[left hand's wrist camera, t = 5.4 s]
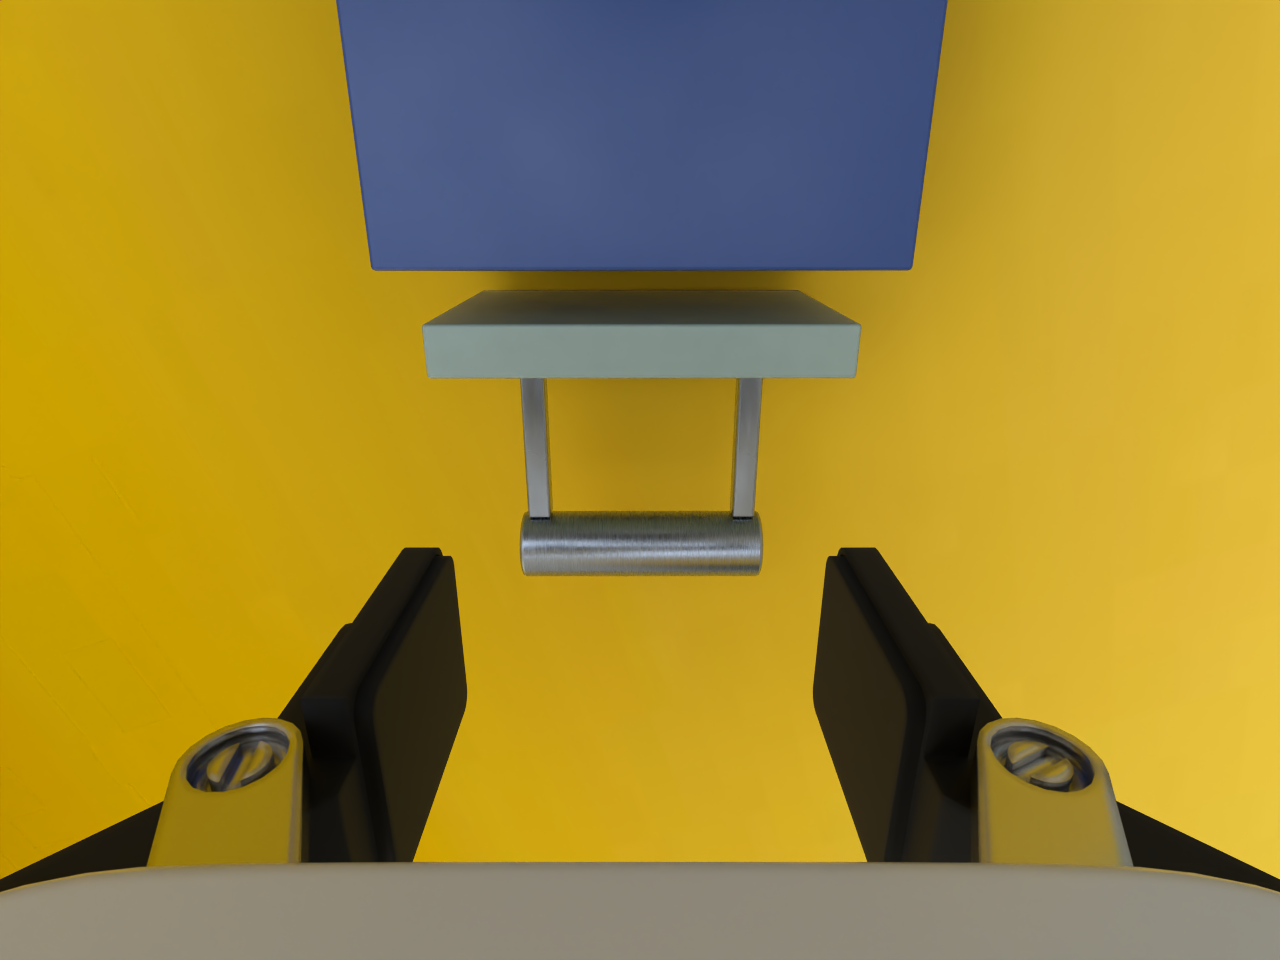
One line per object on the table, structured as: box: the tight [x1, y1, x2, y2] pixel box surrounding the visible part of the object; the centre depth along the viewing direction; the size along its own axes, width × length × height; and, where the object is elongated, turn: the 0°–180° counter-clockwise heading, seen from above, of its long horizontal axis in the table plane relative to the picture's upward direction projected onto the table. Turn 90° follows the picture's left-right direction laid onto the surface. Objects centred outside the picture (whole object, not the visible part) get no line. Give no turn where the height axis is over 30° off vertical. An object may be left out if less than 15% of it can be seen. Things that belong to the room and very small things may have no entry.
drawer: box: [422, 290, 861, 576], centre depth 18 cm, size 19×10×6 cm, turn 0°
